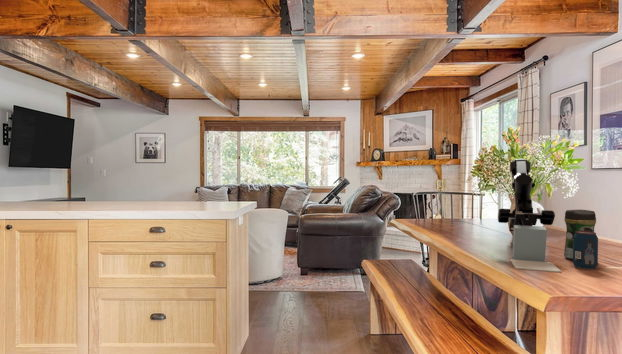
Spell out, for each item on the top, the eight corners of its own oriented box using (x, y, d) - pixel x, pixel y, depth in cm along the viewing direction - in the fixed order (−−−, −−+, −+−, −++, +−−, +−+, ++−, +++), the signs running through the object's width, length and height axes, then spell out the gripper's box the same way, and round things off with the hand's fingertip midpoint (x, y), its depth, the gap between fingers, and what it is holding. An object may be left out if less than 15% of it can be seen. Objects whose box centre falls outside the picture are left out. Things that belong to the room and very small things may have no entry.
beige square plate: (510, 260, 144) (510, 259, 144) (551, 263, 140) (551, 262, 140) (516, 268, 131) (516, 267, 131) (561, 272, 127) (561, 271, 127)
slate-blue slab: (512, 255, 149) (513, 225, 147) (542, 258, 146) (544, 226, 144) (513, 259, 146) (515, 228, 144) (544, 262, 142) (546, 229, 140)
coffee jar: (586, 257, 151) (586, 208, 151) (600, 262, 144) (601, 210, 143) (559, 257, 152) (560, 208, 152) (572, 261, 144) (573, 210, 144)
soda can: (582, 264, 139) (583, 230, 139) (602, 269, 132) (603, 233, 132) (567, 265, 137) (568, 231, 137) (587, 270, 130) (588, 233, 130)
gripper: (546, 216, 159) (553, 249, 149) (495, 214, 165) (498, 245, 155) (551, 198, 152) (558, 230, 141) (498, 196, 158) (500, 227, 147)
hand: (527, 234), depth 146 cm, fingers closed
